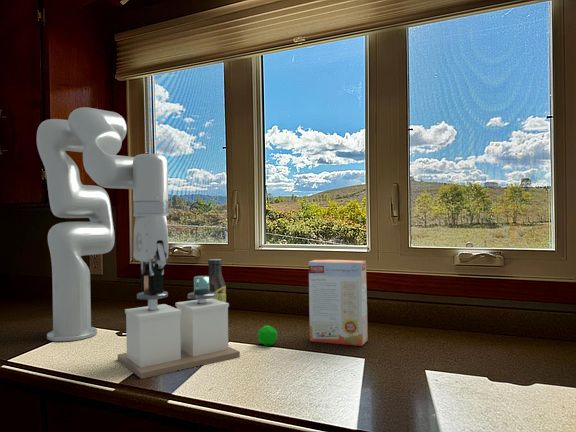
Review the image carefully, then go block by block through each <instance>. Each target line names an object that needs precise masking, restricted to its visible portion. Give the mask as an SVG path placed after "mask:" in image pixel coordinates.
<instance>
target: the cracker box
mask: <svg viewBox="0 0 576 432" xmlns="http://www.w3.org/2000/svg"><path fill="white" fill-rule="evenodd" d="M367 287H368V286H367V262H366V260H353V259H349V260H348V259H347V260H346V259H313V260H310V261H308V298H309V299H308V308H309V310H308V312H309V313H308V315H309V318H308V319H309V341H310V342H313V343H327V344H336V345H337V344H338V345H346V346H357V347H363V346H364V344H366V343H367V342H368V339H369V337H368V304H367V302H368V296H367V293H368V292H367Z"/></svg>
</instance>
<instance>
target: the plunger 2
mask: <svg viewBox="0 0 576 432" xmlns="http://www.w3.org/2000/svg"><path fill="white" fill-rule="evenodd" d="M214 297H216V293H215V292H211V291H209V275H197V276H196V275H195V276H194V277H193V291H192V292H189V293H187V299H190V300H197V304H206V299H210V298H214Z"/></svg>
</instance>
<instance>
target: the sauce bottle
mask: <svg viewBox="0 0 576 432" xmlns="http://www.w3.org/2000/svg"><path fill="white" fill-rule="evenodd" d="M207 264H208V276H209V291H211V292H215V293H216V297H214V298H212V299H216V300H219V301H222V302H226V303H227V286H226V283H225V279H224V276H223V274H222V265H223V260H222V259H220V258H215V259H214V258H213V259H210V258H209V259H208V260H207Z"/></svg>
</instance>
